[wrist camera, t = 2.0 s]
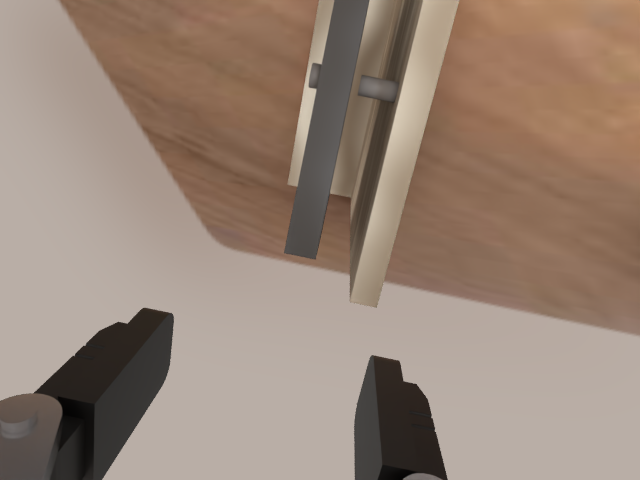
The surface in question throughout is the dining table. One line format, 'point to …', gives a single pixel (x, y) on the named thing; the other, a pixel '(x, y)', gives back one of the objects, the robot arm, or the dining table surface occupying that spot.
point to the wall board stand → (380, 124)
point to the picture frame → (326, 125)
